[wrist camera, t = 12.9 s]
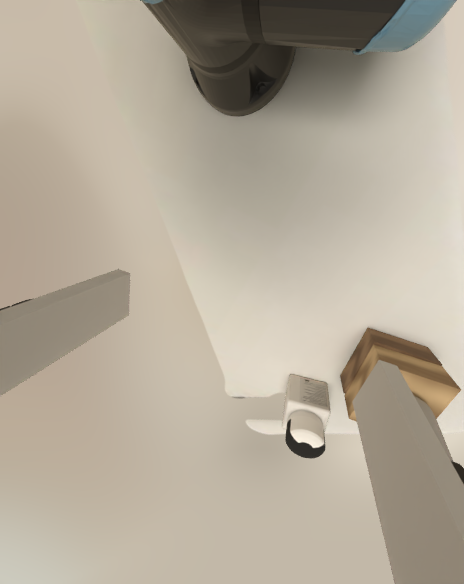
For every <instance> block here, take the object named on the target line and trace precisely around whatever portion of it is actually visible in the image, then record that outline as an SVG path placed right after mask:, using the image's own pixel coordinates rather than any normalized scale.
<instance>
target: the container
mask: <svg viewBox="0 0 464 584" xmlns="http://www.w3.org/2000/svg"><path fill="white" fill-rule="evenodd" d="M329 416H330V404H329V395H328V387H327V383H324V382H320V381H316V380H312V379H308V378H304V377H300V376H296V375H292V374H291V375H290V377H289V382H288V387H287V392H286V397H285V404H284V414H283V422H282V428H283V429H286V444H287V445H288V447H289V448H290V449H291V451H293V452H294V453H295V454H297V455H299V456H301V457H304V458H316V457H319V456H320V455H322V454H323V452H324V451H325V437H324V432H325V429H326V426H327V422H328V419H329Z"/></svg>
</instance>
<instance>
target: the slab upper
mask: <svg viewBox="0 0 464 584" xmlns="http://www.w3.org/2000/svg"><path fill="white" fill-rule="evenodd" d="M378 360H381V361H384V362H387V363H390V364H393V365H396V366H398V368H399V370H400V372H401V374H402V375H403V377H404V379H405V381H406V382H407V384H408V386H409V388H410V390H411V391H412V393H413V395H414V396H416V397H418V398H419V399H421V400H422V401H424V402H425V403H426V404H427V405H428V406H429V407H430V408H431V410H432V412H433V414H434V415H435V418H436V419H437V417H438V416H439V415H440V414H441V413H442V412H443V410H444V409H445V408H446V407H447V406H448V405H449V403H450V402H451V401H452V400H453V399H454V398H455V396H456V395H457V394H458V393H459V392H460V391H461V389H460V388H459V386H458V385H457V384H456V383H455V382H454V380H453V379H452V378H451V377H450V376H449V374H448V373H447V372H446V371H445V369H444V368H443V367H442V366H440V365H437V364H434V363H431V362H427V361H424V360H421V359H418V358H415V357H412V356H408V355H405V354H402V353H399V352H396V351H393V350H389V349H386V348H383V347H380V346H377V345H374V344H373V346H372V348H371V350H370V351H369V353H368V355H367V357H366V358H365V360H364V362H363V364H362V366H361V367H360V369H359V371H358V373H357V374H356V376H355V378H354V380H353V381H352V383H351V385H350V387H349V389H348V390H347V392H346V394H345V401H346V406H347V411H348V416H349V419H352V420H354V421H357V420H356V415H355V411H354V407H353V402H352V401H353V400H354V398H355V397H356V395H357V393H358V392H359V390H360V389H361V387H362V386H363V384H364V382H365V381H366V379H367V378H368V376H369V375H370V373H371V371H372V370H373V368H374V367H375V365H376V364H377V362H378Z"/></svg>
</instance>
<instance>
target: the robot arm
mask: <svg viewBox="0 0 464 584" xmlns="http://www.w3.org/2000/svg"><path fill="white" fill-rule="evenodd" d="M140 1H141V0H140ZM142 2H143V3H144V4H145V5H146V6H147V8H148V9H149V10H150V11H151V12H152V14H153V15H154V16H155V17H156V18H157V20H158V21H159V22H160V23H161V25H162V26H163V27H164V28H165V29H166V31H167V32H168V33H169V34H170V36H171V37H172V38H173V39H174V41H175V42H176V43H177V44H178V45H179V47H180V48H181V49H182V50H183V52H184V53H185V54H186V56H187V60H188V64H189V67H190V71H191V74H192V77H193V80H194V82H195V84H196V86H197V88H198V90H199V91H200V93H201V94H202V96H203V97H204V98H205V99H206V100H207V101H208V102H209V103H210V104H211V105H212V106H213V107H214V108H215V109H217V110H218V111H220V112H222V113H224V114H227V115H231V116H243V115H247V114H250V113H253V112H255V111H257V110H259V109H260V108H262V107H263V106H265V105H266V104H267V103H268V102H269V101H270V100H271V99H272V98H273V97H274V96H275V95H276V94H277V92H278V91H279V90H280V88H281V87H282V85H283V83H284V82H285V80H286V78H287V76H288V73H289V71H290V68H291V65H292V62H293V58H294V54H295V48H296V47H309V48H323V49H337V50H352V51H353V54H356V55H361V54H364V53H366V52H398V51H402V50H405V49H408V48H409V47H411V46H412V45H414V44H415V43H417V42H418V41H420V40H421V39H422V38H424V37H425V36H426V35H427V34H428V33H429V32H430V31H431V30H432V29H433V28H434V27H435V26H436V25H437V24H438V23H439V22H440V20H441V19H442V18H443V17H444V16H445V15H446V13H447V12H448V11H449V10H450V8H451V7H452V6H453V4H454V3H455V2H456V0H142ZM129 292H130V273H128V272H125V271H122V270H119V269H118V270H115V271H112V272H109V273H107V274H103V275H100V276H98V277H95V278H92V279H89V280H86V281H84V282H81V283H78V284H75V285H72V286H69V287H67V288H64V289H61V290H58V291H55V292H52V293H49V294H46V295H43V296H41V297H38V298H35V299H29V300H25V301H22V302H19V303H16V304H14V305H12V306H11V307H10V306H8V307H5V308H2V309H0V396H1V395H3V394H4V393H6V392H8V391H9V390H11V389H12V388H14V387H15V386H17V385H19V384H20V383H22V382H23V381H25V380H27V379H28V378H30V377H31V376H33V375H34V374H36V373H37V372H39V371H41V370H43V369H44V368H45V367H47V366H49V365H50V364H52V363H54V362H55V361H57V360H58V359H60V358H62V357H63V356H65V355H66V354H68V353H69V352H71V351H73V350H74V349H76V348H77V347H79V346H81V345H82V344H84V343H85V342H87V341H88V340H90V339H92V338H93V337H95V336H96V335H98V334H100V333H101V332H103V331H104V330H106V329H108V328H109V327H111V326H112V325H114V324H116V323H117V322H118V321H120V320H122V319H123V318H125V317H127V316H128V315H129ZM352 402H353V407H354V411H355V415H356V420H357V424H358V428H359V432H360V436H361V441H362V445H363V449H364V454H365V458H366V462H367V466H368V471H369V475H370V479H371V484H372V488H373V492H374V496H375V501H376V505H377V510H378V514H379V518H380V522H381V527H382V531H383V535H384V539H385V544H386V548H387V552H388V557H389V561H390V565H391V570H392V574H393V578H394V582H395V584H464V468H463V467H462V466H461V465H460V464H458V463H455V462H453V461H450V459H449V457H448V456H447V454H446V452H445V450H444V448H443V447H442V445H441V443H440V441H439V440H438V438H437V436H436V434H435V432H434V431H433V429H432V427H431V425H430V423H429V422H428V420H427V418H426V416H425V415H424V413H423V411H422V409H421V407H420V406H419V404H418V402H417V400H416V399H415V397H414V395H413V393H412V391H411V390H410V388H409V386H408V384H407V382H406V381H405V379H404V377H403V375H402V374H401V372H400V370H399V368H398V366H396V365H393V364H390V363H387V362H384V361H381V360H378V362H377V364H376V365H375V367H374V368H373V370H372V371H371V373H370V375H369V376H368V378H367V379H366V381H365V382H364V384H363V386H362V387H361V389H360V390H359V392H358V393H357V395H356V397H355V398H354V400H353V401H352Z"/></svg>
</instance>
